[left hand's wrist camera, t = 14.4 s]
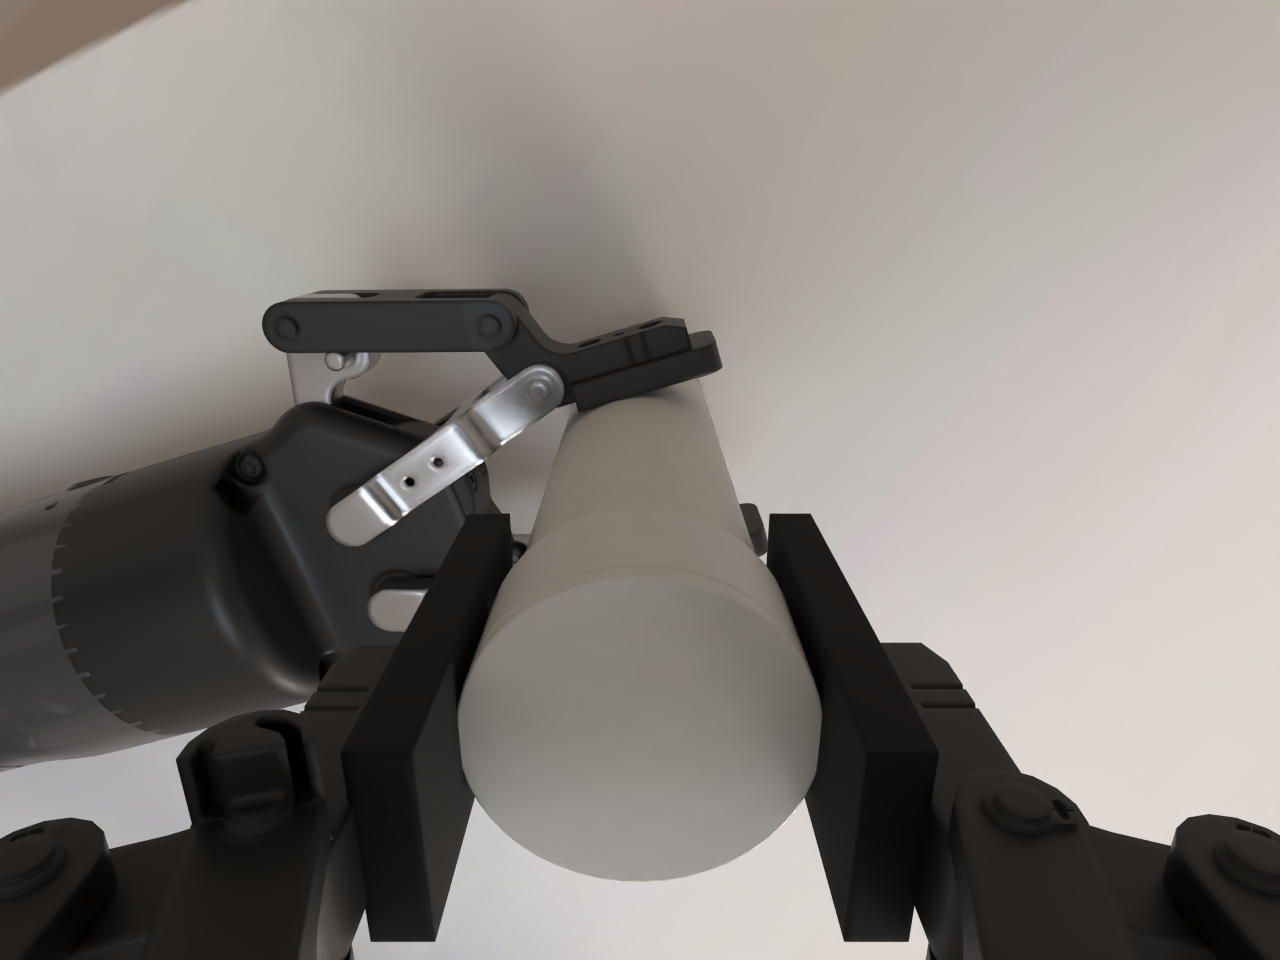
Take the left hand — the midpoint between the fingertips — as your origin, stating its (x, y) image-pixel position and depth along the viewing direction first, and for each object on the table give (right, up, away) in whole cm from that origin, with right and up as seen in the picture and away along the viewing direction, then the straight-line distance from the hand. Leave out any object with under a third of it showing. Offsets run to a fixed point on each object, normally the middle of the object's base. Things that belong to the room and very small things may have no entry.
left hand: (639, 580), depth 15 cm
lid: (0, -2, -4) cm, 4 cm away
